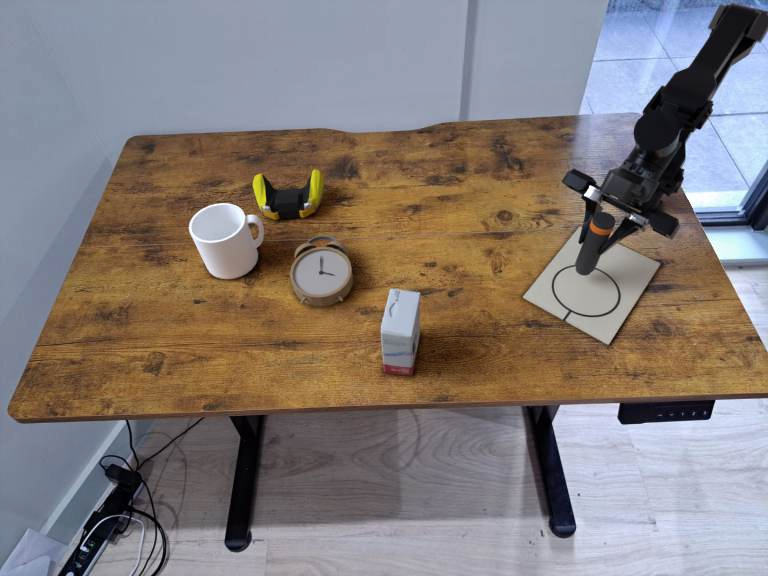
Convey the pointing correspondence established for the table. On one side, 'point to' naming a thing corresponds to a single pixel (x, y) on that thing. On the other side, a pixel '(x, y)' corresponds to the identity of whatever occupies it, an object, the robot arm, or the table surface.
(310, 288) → the alarm clock
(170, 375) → the table surface
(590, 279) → the paper sheet
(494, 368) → the table surface
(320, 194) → the gaming controller
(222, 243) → the mug
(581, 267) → the marker
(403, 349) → the ink box
